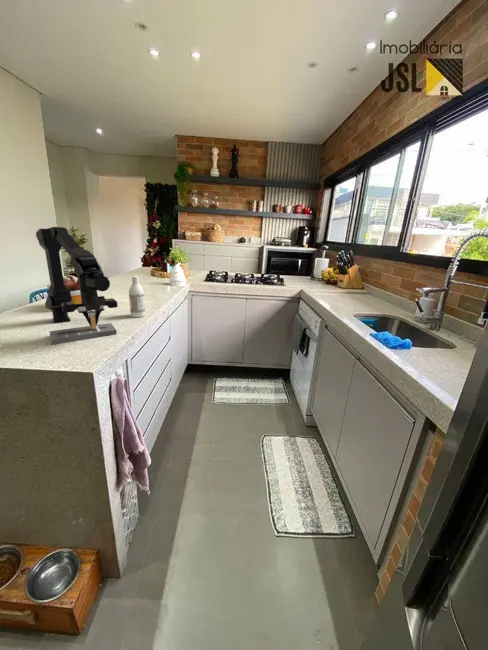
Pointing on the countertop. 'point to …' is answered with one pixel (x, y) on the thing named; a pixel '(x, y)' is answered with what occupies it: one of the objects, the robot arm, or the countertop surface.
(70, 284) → the bucket of meat
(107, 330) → the console
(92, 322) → the fader tab
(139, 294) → the bath foam
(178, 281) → the honey pot
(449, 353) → the countertop surface
